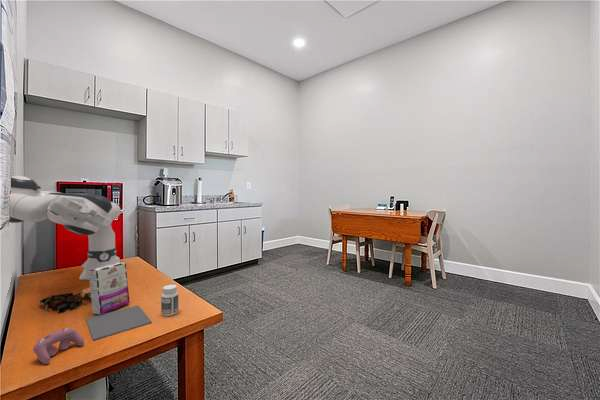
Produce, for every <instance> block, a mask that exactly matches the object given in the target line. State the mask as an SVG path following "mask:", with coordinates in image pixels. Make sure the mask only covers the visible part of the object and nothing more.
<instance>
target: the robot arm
mask: <svg viewBox="0 0 600 400" xmlns="http://www.w3.org/2000/svg"><path fill="white" fill-rule="evenodd" d="M11 176H12V177H11V194H10V203H9V216H10V218H11V219H10V223H11V224H17V223H18V224H19V223H24V222H29V223H38V222H42V221H45V220H46V219H48V220H49V221H51V222H53V223H55V224H59V225H63V227H64V228H65V230H66V231H67V232H70V233H73V234H76V235H81V236H88V237H87V238H88V250H87V254H86V255H87V260H85V262H84V263H82V265H81V268H82V269H83V270H82V272H81V273H80V276H79V278H78V279H79V281H82V280H86V281H87V280H88V281H89V271H88V270H91V269H95V268H99V267H103V266H107V265H110V264H115V263H119V262H120V257H119V256H117V247H116V233H115V231H114V230H113V228H112V223H113V221H114V220H116V219H117V218H118V217H119V216H120V214H121V212H122V211H121V210H122V209H121V207H120V205H119V204H118V203H116V202H114V201H111V199H109V198H107V197H105V196H103V195H98V194H90V195H89V194H77V193H65V192H58V191H54V190H53V191H51V190H41V189H42V187H41V186H40V185H38V183H37V182H36V181H35V180H33V179H32V178H29V177H27V176H24V175H11Z"/></svg>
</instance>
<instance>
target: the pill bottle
mask: <svg viewBox="0 0 600 400" xmlns="http://www.w3.org/2000/svg"><path fill="white" fill-rule="evenodd" d="M177 286H178V285H176V284H167V285H164V286H163V287H162V293H161V295H160V303H161V309H160V313H161V315H162V316H164V317H169V316H171V317H172V316H174V315H176V314H178V312H179V292H178V290H177V289H178V287H177Z"/></svg>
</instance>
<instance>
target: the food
mask: <svg viewBox="0 0 600 400" xmlns="http://www.w3.org/2000/svg"><path fill="white" fill-rule="evenodd" d="M85 300H91V290H90V286H89V287H87V288H84V289H82V290H81V291H80V292H78V293H73V292H69V293H68V292H67V293H61V294H57V295H56V294H55V295H54V294H53V295H50V296H48V297H45V298H42V299H40V300H39V302H38V303H39V304H41V305H42V306H45V308H44V311H45V312H48V313H50V311H49V309H51V311H54V312H56V313H57V314H61V313H65V312H66V311H74V310H76V309H77V308H79V307H80V306H82V305H85V306H86V303H84V304H83V301H85Z"/></svg>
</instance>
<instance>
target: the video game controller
mask: <svg viewBox="0 0 600 400" xmlns="http://www.w3.org/2000/svg"><path fill="white" fill-rule="evenodd" d="M71 342H73V343H74V344H75V345H77V346H78V347H83V346H84V344H85V340H84V338H83V337H82V336H81V334H80V333H78V331H77V330H76V329H75V328H71V327H68V328H63V329H59V330H57V331H54V332H51V333H50V334H48V335H46V336H44V337H43V338H41V339H39V340H38V341H37V342H36V343H35V344H34V346H33V348H32V349H33V350H32V351H33V353H35V354H36V357H37V358H38V359H39V361H40V362H41V363H43V364H44V365H49V364H50V362H51V357H53V356H55V355H56V354H57V352H58V349H59V350H60V351H65V350H67V349H68V348H70V346H71ZM56 343H59V344H58V348H57V346H55V344H56Z"/></svg>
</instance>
